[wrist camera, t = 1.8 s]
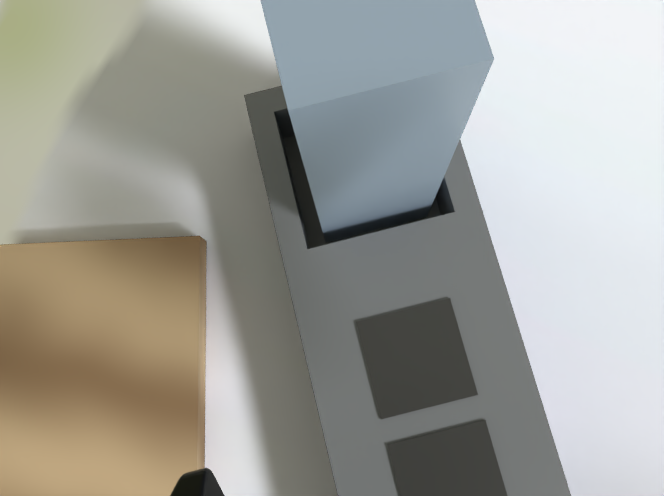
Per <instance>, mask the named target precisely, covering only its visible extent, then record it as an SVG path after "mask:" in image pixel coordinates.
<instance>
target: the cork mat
mask: <svg viewBox="0 0 664 496" xmlns="http://www.w3.org/2000/svg"><path fill="white" fill-rule="evenodd" d="M205 347H206V241H205V240H204V239H203V238H202V237H200V236H186V237H164V238H141V239H118V240H95V241H72V242H49V243H27V244H4V245H0V496H170V495H171V493H172V491H173V489H174V487H175V485H176V483H177V481H178V480H179V478H180V477H181V476H182V475H183V474H185V473H187V472H191V471H195V470H199V469H203V468H204V462H205Z"/></svg>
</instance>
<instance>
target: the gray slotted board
mask: <svg viewBox="0 0 664 496" xmlns="http://www.w3.org/2000/svg"><path fill="white" fill-rule="evenodd" d="M244 97H245V101H246V106H247V110H248V114H249V118H250V123H251V127H252V131H253V135H254V140H255V144H256V148H257V153H258V157H259V161H260V165H261V170H262V174H263V178H264V182H265V187H266V191H267V195H268V199H269V204H270V208H271V212H272V216H273V221H274V225H275V229H276V234H277V238H278V242H279V246H280V251H281V255H282V259H283V263H284V268H285V272H286V276H287V280H288V285H289V289H290V293H291V298H292V302H293V306H294V310H295V315H296V319H297V323H298V327H299V332H300V336H301V340H302V344H303V349H304V353H305V357H306V361H307V366H308V370H309V374H310V379H311V383H312V387H313V391H314V396H315V400H316V404H317V408H318V413H319V417H320V421H321V425H322V430H323V434H324V438H325V442H326V447H327V451H328V455H329V460H330V464H331V468H332V472H333V477H334V481H335V485H336V489H337V494H338V496H571V494H570V491H569V488H568V485H567V481H566V478H565V475H564V472H563V468H562V465H561V462H560V459H559V456H558V452H557V449H556V446H555V443H554V440H553V436H552V433H551V430H550V427H549V424H548V420H547V417H546V414H545V411H544V407H543V404H542V401H541V398H540V395H539V391H538V388H537V385H536V382H535V379H534V375H533V372H532V369H531V366H530V363H529V359H528V356H527V353H526V350H525V346H524V343H523V340H522V337H521V334H520V330H519V327H518V324H517V321H516V318H515V314H514V311H513V308H512V305H511V302H510V298H509V295H508V292H507V289H506V285H505V282H504V279H503V276H502V273H501V269H500V266H499V263H498V260H497V257H496V253H495V250H494V247H493V244H492V241H491V237H490V234H489V231H488V228H487V224H486V221H485V218H484V215H483V212H482V208H481V205H480V202H479V199H478V196H477V192H476V189H475V186H474V183H473V180H472V176H471V173H470V170H469V167H468V163H467V160H466V157H465V154H464V151H463V147H462V144H461V141H460V140H459V142H458V145H457V147H456V149H455V152H454V154H453V157H452V159H451V161H450V164H449V166H448V168H447V171H446V173H445V175H444V178H443V180H442V182H441V185H440V187H439V189H438V192H437V194H436V197H435V199H434V201H433V204H432V206H431V208H430V211H429V213H428V215H427V217H426V218H422V219H418V220H414V221H410V222H406V223H402V224H398V225H394V226H390V227H386V228H382V229H378V230H375V231H371V232H367V233H363V234H359V235H355V236H351V237H347V238H343V239H339V240H335V241H331V242H327V243H326V242H325V239H324V235H323V232H322V228H321V224H320V221H319V217H318V214H317V210H316V207H315V203H314V200H313V196H312V193H311V189H310V186H309V182H308V179H307V175H306V172H305V168H304V165H303V161H302V158H301V154H300V150H299V147H298V143H297V140H296V136H295V133H294V129H293V126H292V122H291V119H290V115H289V112H288V108H287V104H286V100H285V96H284V92H283V88H282V86H279V87H275V88H271V89H267V90H263V91H259V92H255V93H251V94H247V95H244Z"/></svg>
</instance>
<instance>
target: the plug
mask: <svg viewBox="0 0 664 496" xmlns="http://www.w3.org/2000/svg"><path fill="white" fill-rule="evenodd" d="M261 4H262V8H263V12H264V16H265V20H266V24H267V28H268V32H269V36H270V40H271V44H272V48H273V52H274V56H275V60H276V64H277V68H278V72H279V76H280V80H281V84H282V88H283V92H284V96H285V100H286V104H287V108H288V112H289V115H290V119H291V122H292V126H293V129H294V133H295V136H296V140H297V143H298V147H299V150H300V154H301V158H302V161H303V165H304V168H305V172H306V175H307V179H308V182H309V186H310V189H311V193H312V196H313V200H314V203H315V207H316V210H317V214H318V217H319V221H320V224H321V228H322V232H323V235H324V239H325V242H326V243H327V242H331V241H335V240H339V239H343V238H347V237H351V236H355V235H359V234H363V233H367V232H371V231H375V230H378V229H382V228H386V227H390V226H394V225H398V224H402V223H406V222H410V221H414V220H418V219H422V218H426V217H427V215H428V213H429V211H430V208H431V206H432V204H433V201H434V199H435V197H436V194H437V192H438V189H439V187H440V185H441V182H442V180H443V178H444V175H445V173H446V171H447V168H448V166H449V164H450V161H451V159H452V157H453V154H454V152H455V149H456V147H457V145H458V142H459V140H460V138H461V135H462V133H463V131H464V128H465V126H466V124H467V121H468V119H469V117H470V114H471V112H472V109H473V107H474V105H475V102H476V100H477V98H478V95H479V93H480V91H481V88H482V86H483V84H484V81H485V79H486V77H487V74H488V72H489V69H490V67H491V65H492V62H493V60H494V57H493V54H492V51H491V48H490V45H489V42H488V39H487V36H486V33H485V30H484V27H483V24H482V21H481V18H480V15H479V12H478V9H477V6H476V3H475V0H261Z"/></svg>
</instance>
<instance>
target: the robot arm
mask: <svg viewBox="0 0 664 496" xmlns="http://www.w3.org/2000/svg"><path fill="white" fill-rule="evenodd" d="M170 496H224V494H223V492H222V490H221V488H220V486H219V484H218V482H217V480H216V478H215V477H214V475H213V473H212V471H211V470H210V469H208V468H203V469H199V470H195V471H191V472H187V473H185V474H183V475H182V476H181V477H180V478H179V480H178V481H177V483H176V485H175V487H174V489H173V491H172V493H171V495H170Z"/></svg>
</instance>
